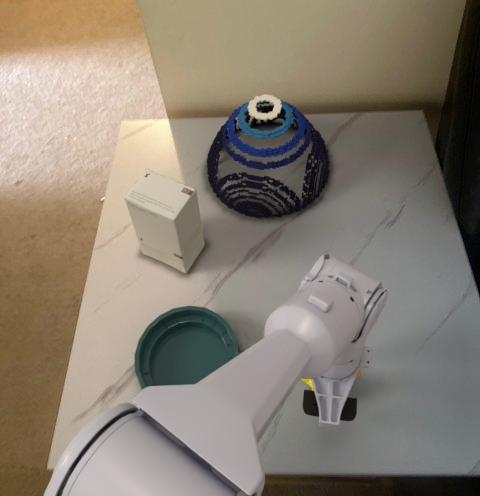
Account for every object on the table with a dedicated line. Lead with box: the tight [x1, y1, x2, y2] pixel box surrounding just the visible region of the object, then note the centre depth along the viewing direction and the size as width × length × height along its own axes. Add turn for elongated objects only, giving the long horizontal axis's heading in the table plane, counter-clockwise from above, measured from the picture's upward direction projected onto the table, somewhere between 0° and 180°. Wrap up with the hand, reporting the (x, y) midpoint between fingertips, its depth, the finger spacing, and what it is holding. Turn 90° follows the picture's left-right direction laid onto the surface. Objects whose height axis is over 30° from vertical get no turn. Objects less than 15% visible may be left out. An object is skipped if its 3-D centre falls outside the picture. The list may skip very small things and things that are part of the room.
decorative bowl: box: [206, 93, 331, 219], centre depth 88 cm, size 20×20×14 cm
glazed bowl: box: [133, 305, 240, 390], centre depth 73 cm, size 13×13×4 cm
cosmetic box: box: [123, 168, 206, 274], centre depth 80 cm, size 8×6×15 cm
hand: (329, 379), depth 67 cm, fingers open, 7 cm apart
